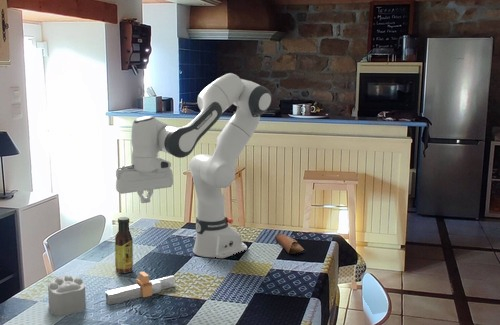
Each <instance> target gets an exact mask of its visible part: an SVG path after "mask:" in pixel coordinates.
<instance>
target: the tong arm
mask: <svg viewBox="0 0 500 325" xmlns="http://www.w3.org/2000/svg"><path fill="white" fill-rule="evenodd" d="M161 292H162V290H161V282H160V281H156V282H152V295H153V294H154V295H155V294H157V293H161ZM107 294H108V304H107V305H108V306H111V305H115V304H118V303H122V302H127V301H131V300H134V299H138V298H143V297H142V286H141V285H140V286H136V287H132V288H127V289H123V290H119V291H115V292H111V293H107Z"/></svg>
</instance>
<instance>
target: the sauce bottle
mask: <svg viewBox="0 0 500 325" xmlns="http://www.w3.org/2000/svg"><path fill="white" fill-rule="evenodd" d="M117 224H118V230H117V233H116V234H115V238H114V240H115V241H114V242H115V243H114V257H115V258H114V261H115V262H114V265H115V266H114V267H115V272H116V273H118V274H128V273H131V272H132V271H133V266H134V256H133V255H134V252H133V251H134V249H133V247H134V246H133V243H134V242H133V237H132V234H131V231H130V217H127V216H121V217H118V218H117Z"/></svg>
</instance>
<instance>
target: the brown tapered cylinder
mask: <svg viewBox="0 0 500 325" xmlns="http://www.w3.org/2000/svg"><path fill="white" fill-rule="evenodd" d="M274 240H275V241H276V242H277V243H278V244H279V245H280V247H282V248H283V250H285V251H286V253H288V254H289V253H296V252H301V251H303V250H305V249H304V247H303V246H301V244H299V243H298V241H297V240H296V239H294V238H293V237H290V236H288V235H287V234H283V233H277V234H276V235H275V237H274Z"/></svg>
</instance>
